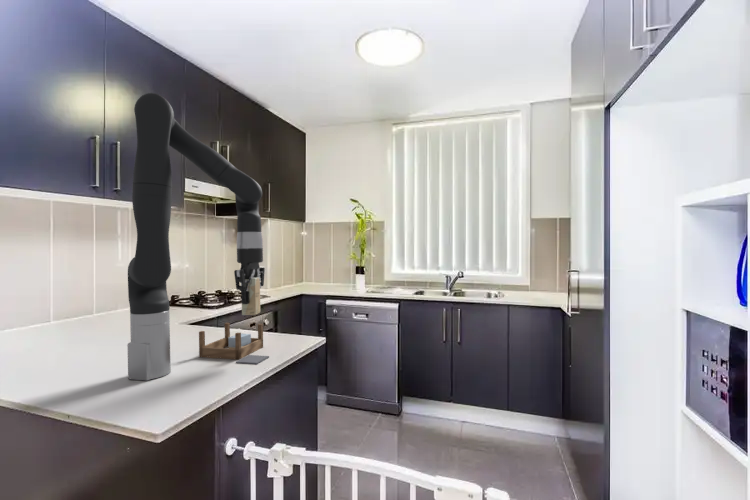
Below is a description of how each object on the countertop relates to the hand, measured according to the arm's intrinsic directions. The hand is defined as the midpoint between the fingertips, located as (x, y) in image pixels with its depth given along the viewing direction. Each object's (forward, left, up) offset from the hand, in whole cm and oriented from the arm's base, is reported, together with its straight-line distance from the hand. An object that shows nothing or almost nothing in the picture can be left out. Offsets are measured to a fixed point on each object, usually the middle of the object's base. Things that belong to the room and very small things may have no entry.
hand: (251, 302), depth 115 cm
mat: (-1, -1, -18) cm, 18 cm away
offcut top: (+5, +8, -15) cm, 18 cm away
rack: (+6, +11, -18) cm, 22 cm away
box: (0, 0, -4) cm, 4 cm away
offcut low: (+6, +8, -18) cm, 20 cm away
